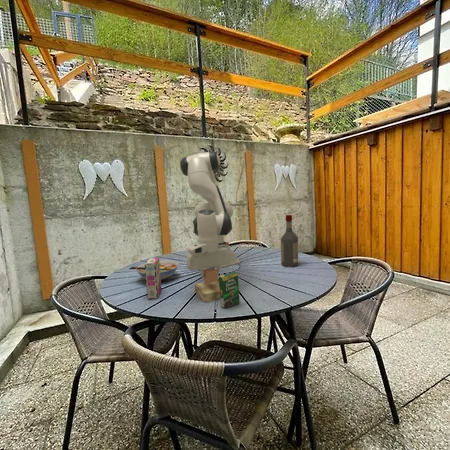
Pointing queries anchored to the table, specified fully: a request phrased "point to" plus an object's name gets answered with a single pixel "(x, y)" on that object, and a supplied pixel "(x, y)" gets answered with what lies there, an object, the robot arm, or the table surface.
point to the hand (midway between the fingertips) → (210, 276)
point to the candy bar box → (153, 278)
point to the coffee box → (229, 290)
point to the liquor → (289, 245)
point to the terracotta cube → (210, 275)
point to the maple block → (208, 291)
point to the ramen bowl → (165, 269)
